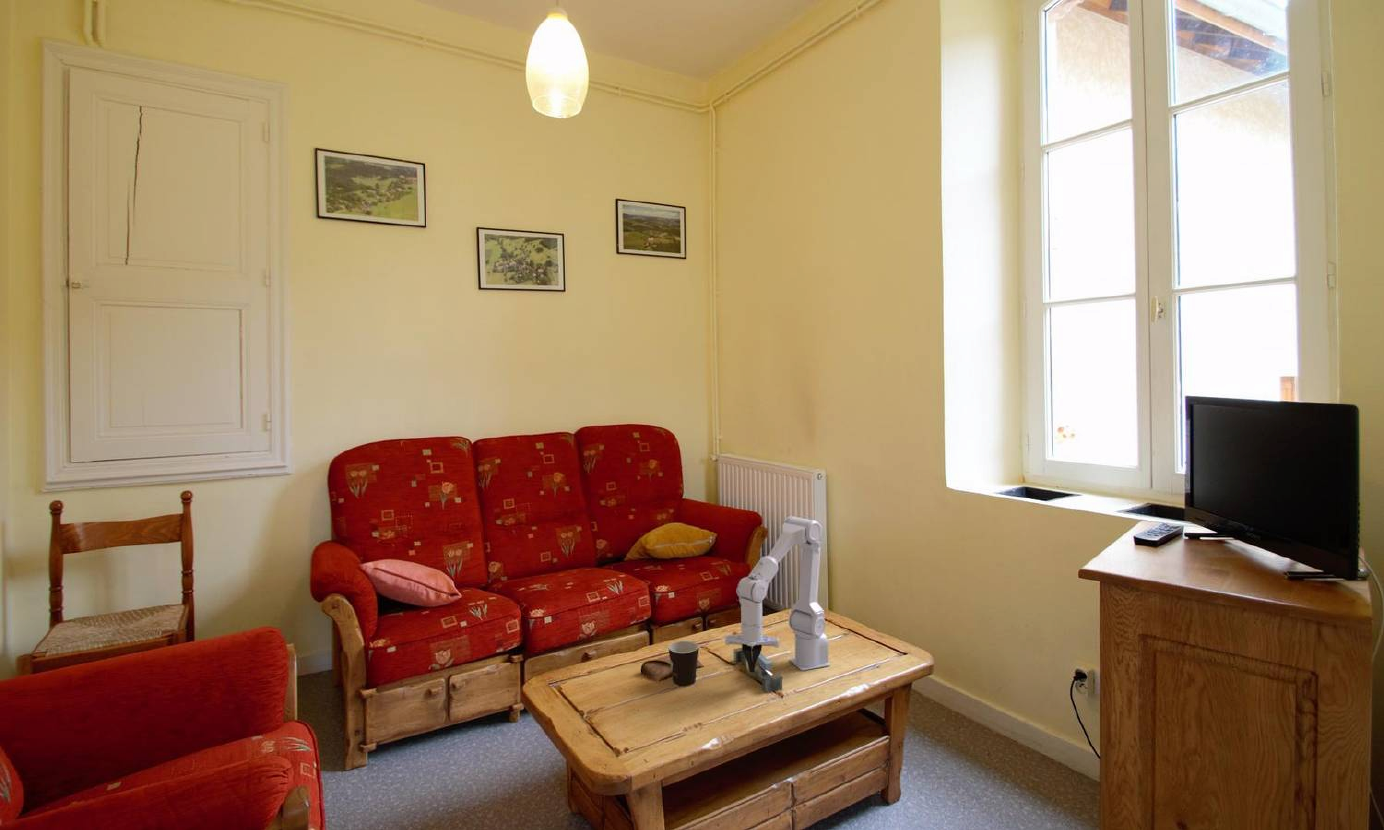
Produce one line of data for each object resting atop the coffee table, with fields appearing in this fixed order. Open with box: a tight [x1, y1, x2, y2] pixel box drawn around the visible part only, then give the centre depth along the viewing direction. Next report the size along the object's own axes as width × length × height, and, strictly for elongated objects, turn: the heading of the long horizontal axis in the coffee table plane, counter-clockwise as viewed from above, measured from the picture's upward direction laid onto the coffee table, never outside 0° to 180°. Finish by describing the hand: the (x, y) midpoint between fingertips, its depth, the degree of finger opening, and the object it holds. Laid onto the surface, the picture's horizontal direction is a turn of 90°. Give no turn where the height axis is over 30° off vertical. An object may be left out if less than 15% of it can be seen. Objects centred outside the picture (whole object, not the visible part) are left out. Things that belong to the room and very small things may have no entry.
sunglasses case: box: [640, 654, 705, 684], centre depth 198 cm, size 18×7×7 cm, turn 127°
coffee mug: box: [667, 640, 700, 688], centre depth 191 cm, size 12×9×10 cm
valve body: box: [733, 647, 783, 694], centre depth 193 cm, size 22×6×4 cm, turn 20°
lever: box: [757, 652, 773, 671], centre depth 190 cm, size 10×3×2 cm, turn 19°
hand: (752, 670), depth 184 cm, fingers closed
